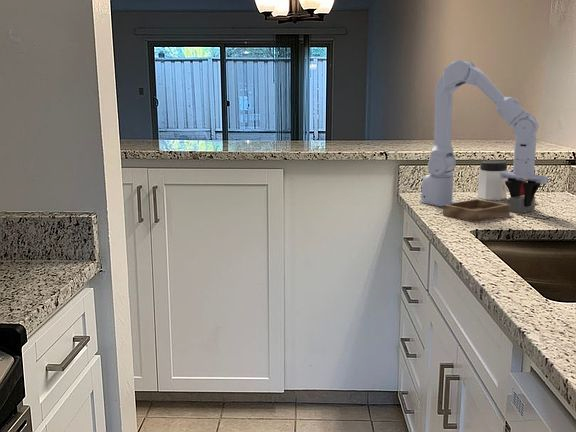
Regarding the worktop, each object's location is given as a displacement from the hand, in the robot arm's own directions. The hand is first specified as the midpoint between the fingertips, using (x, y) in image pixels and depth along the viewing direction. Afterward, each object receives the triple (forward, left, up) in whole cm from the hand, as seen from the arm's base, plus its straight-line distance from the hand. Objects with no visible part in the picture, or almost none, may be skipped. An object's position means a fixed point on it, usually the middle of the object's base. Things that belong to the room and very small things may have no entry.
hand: (521, 205), depth 171 cm
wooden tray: (-4, -15, -2) cm, 16 cm away
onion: (-9, +12, -2) cm, 15 cm away
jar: (-18, +10, -2) cm, 21 cm away
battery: (0, 0, -2) cm, 2 cm away
